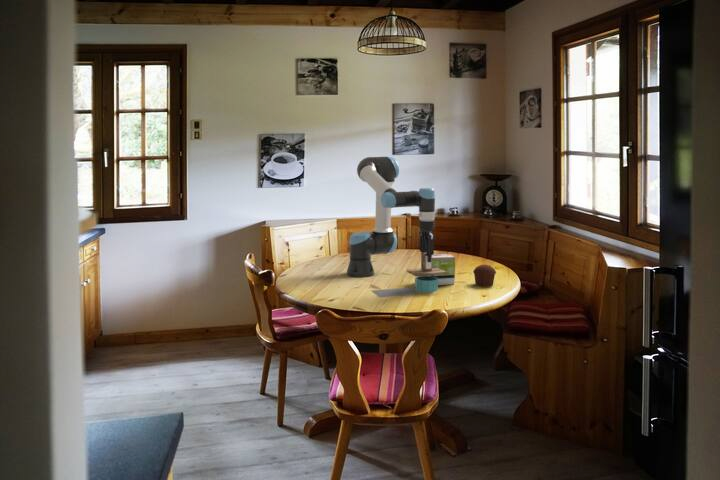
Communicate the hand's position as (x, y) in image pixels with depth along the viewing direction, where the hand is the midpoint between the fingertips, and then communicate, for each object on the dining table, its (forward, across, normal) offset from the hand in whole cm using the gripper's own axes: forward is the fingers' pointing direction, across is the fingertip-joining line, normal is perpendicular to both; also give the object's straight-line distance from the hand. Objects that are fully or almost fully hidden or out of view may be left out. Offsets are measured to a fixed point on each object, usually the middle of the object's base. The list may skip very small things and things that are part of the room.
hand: (426, 267), depth 295 cm
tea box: (+12, -12, +12) cm, 20 cm away
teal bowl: (+11, 0, 0) cm, 11 cm away
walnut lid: (+3, 0, 0) cm, 3 cm away
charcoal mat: (+11, 0, -16) cm, 20 cm away
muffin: (+12, -2, +33) cm, 35 cm away
